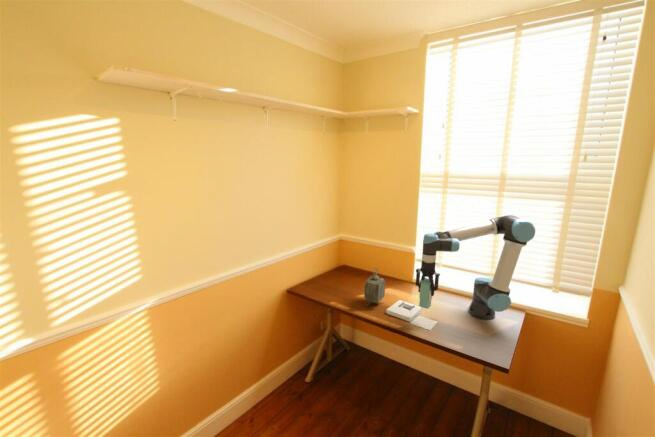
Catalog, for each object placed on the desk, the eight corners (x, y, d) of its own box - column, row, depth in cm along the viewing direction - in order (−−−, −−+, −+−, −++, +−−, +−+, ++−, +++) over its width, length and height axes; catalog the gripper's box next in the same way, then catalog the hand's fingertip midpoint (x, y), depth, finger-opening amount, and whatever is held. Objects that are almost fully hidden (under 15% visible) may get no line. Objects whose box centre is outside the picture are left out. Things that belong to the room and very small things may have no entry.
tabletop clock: (372, 298, 218) (373, 264, 213) (384, 301, 214) (386, 266, 209) (363, 306, 206) (365, 270, 201) (376, 310, 201) (378, 273, 197)
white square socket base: (422, 310, 201) (422, 306, 201) (410, 321, 188) (410, 316, 187) (399, 303, 211) (399, 299, 211) (386, 313, 198) (386, 308, 197)
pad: (437, 322, 187) (437, 321, 187) (429, 330, 178) (429, 330, 178) (418, 316, 195) (418, 315, 195) (410, 323, 186) (410, 323, 186)
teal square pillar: (431, 305, 185) (433, 280, 182) (427, 309, 180) (429, 283, 177) (422, 303, 188) (424, 277, 185) (418, 306, 184) (420, 280, 181)
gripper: (446, 262, 176) (443, 301, 181) (416, 256, 188) (413, 292, 192) (442, 266, 171) (438, 306, 175) (410, 259, 182) (408, 296, 186)
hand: (425, 299), depth 184 cm, fingers closed on teal square pillar, 5 cm apart
